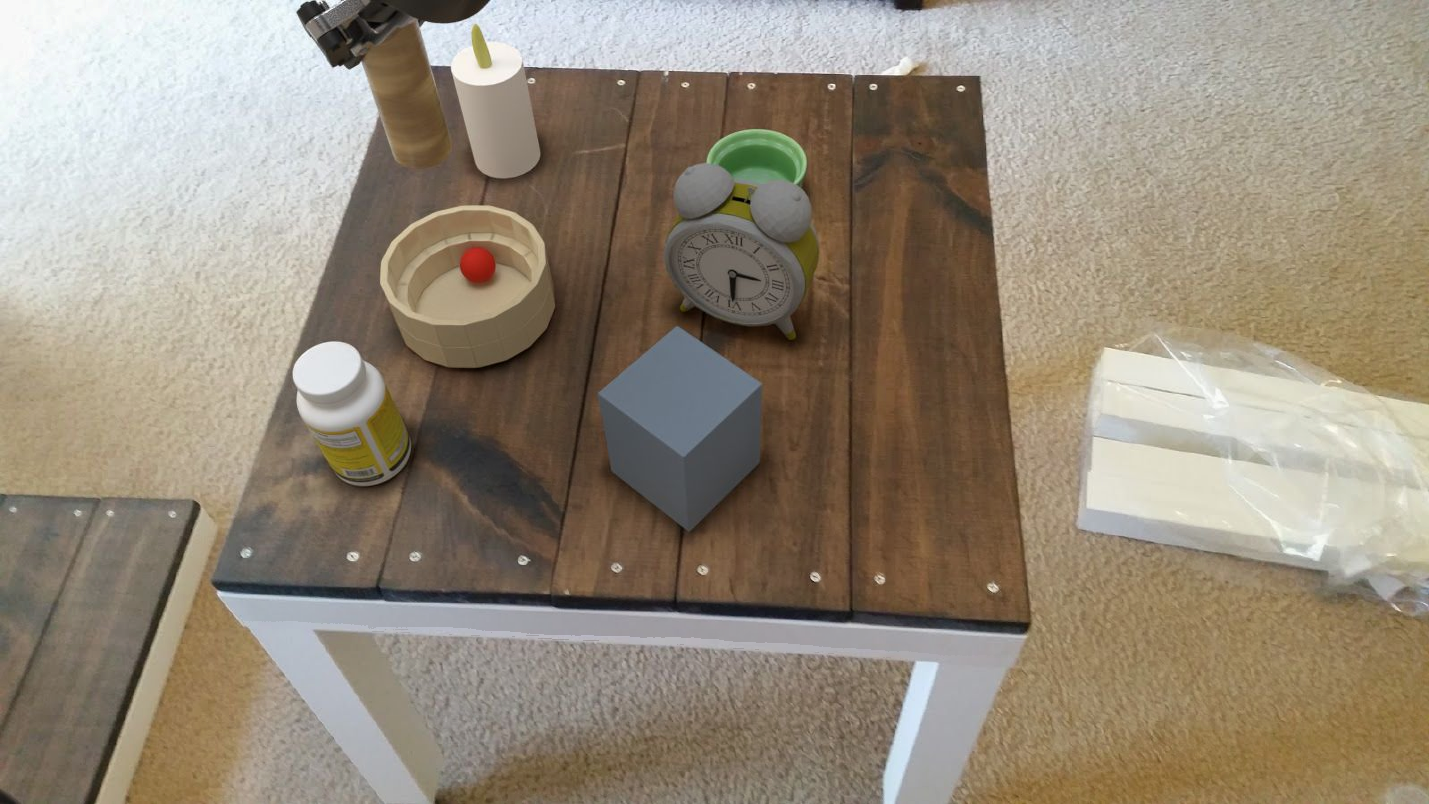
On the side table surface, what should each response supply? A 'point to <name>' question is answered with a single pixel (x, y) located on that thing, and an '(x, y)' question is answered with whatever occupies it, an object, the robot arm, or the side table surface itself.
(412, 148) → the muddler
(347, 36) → the robot arm
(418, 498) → the side table surface
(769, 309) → the alarm clock
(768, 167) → the ramekin
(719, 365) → the upright slate-blue block
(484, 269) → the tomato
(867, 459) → the side table surface
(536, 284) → the bowl
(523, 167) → the candle
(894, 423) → the side table surface
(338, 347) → the pill bottle
